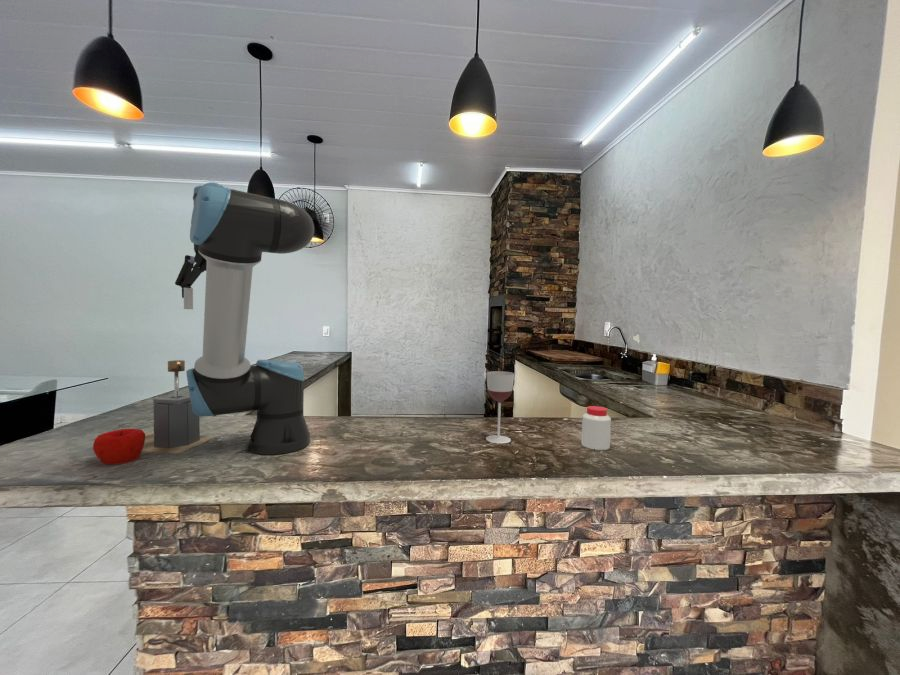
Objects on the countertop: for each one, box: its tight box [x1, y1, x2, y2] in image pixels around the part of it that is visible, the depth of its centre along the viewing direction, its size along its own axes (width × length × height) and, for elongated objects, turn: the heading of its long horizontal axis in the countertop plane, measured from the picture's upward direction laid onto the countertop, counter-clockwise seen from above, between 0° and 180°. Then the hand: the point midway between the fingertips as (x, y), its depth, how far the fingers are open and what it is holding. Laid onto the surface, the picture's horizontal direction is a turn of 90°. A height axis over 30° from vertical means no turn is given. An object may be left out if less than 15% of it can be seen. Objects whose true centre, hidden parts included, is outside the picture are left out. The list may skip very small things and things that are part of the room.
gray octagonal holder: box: [152, 393, 201, 448], centre depth 99 cm, size 10×12×12 cm
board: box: [142, 432, 216, 454], centre depth 98 cm, size 22×13×1 cm, turn 85°
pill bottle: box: [580, 405, 612, 451], centre depth 108 cm, size 8×8×11 cm
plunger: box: [167, 359, 186, 398], centre depth 98 cm, size 7×7×20 cm
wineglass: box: [485, 370, 515, 444], centre depth 111 cm, size 8×9×20 cm
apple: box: [92, 428, 146, 465], centre depth 86 cm, size 9×9×8 cm
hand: (209, 309), depth 114 cm, fingers open, 13 cm apart
